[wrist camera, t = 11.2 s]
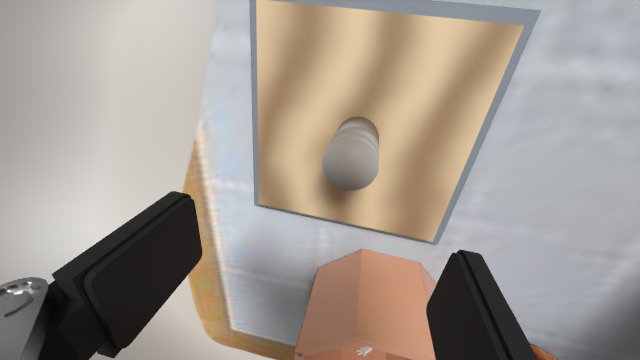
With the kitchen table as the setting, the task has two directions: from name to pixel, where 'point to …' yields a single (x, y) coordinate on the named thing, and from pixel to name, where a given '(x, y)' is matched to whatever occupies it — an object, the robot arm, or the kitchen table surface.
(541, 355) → the mug
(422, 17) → the lid
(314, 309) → the bowl
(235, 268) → the kitchen table surface
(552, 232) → the kitchen table surface
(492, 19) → the mat
